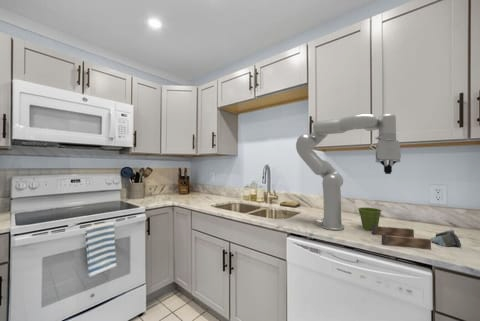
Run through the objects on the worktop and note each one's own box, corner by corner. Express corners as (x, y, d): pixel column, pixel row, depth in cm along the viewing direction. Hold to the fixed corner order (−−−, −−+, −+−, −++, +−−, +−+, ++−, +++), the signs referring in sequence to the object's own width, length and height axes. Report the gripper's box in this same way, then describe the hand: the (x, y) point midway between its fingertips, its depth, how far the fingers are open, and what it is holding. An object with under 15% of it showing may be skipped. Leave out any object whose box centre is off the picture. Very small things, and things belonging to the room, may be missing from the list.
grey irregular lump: (421, 239, 106) (431, 227, 98) (434, 235, 106) (445, 223, 98) (438, 258, 99) (450, 247, 91) (452, 253, 99) (466, 242, 91)
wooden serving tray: (383, 244, 97) (382, 234, 97) (372, 233, 114) (371, 224, 114) (431, 249, 92) (430, 238, 92) (412, 236, 108) (412, 227, 108)
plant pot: (356, 225, 129) (356, 206, 129) (379, 227, 125) (378, 208, 125) (360, 231, 118) (359, 210, 118) (385, 233, 114) (384, 212, 114)
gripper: (372, 138, 109) (373, 173, 109) (407, 136, 105) (408, 174, 104) (368, 139, 116) (369, 173, 116) (401, 138, 112) (401, 173, 111)
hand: (387, 173), depth 110 cm, fingers closed
